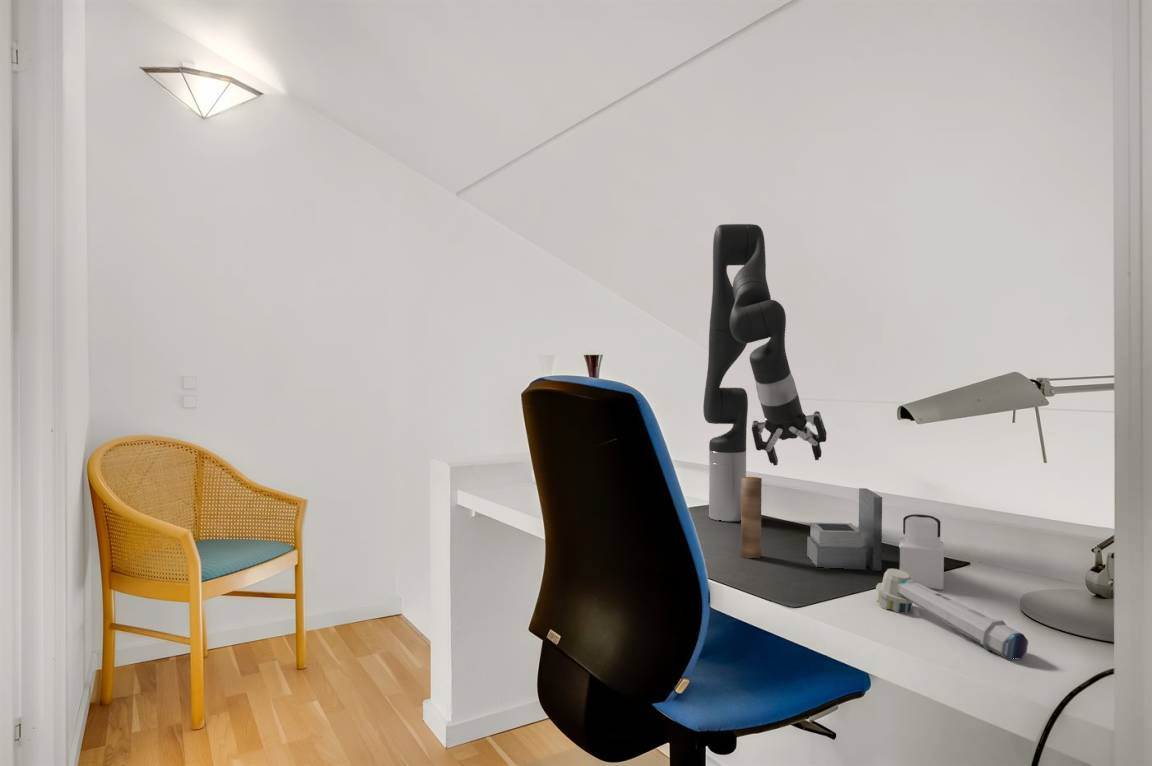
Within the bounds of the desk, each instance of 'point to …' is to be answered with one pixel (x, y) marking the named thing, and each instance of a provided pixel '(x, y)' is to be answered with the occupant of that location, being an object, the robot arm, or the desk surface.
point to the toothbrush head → (950, 614)
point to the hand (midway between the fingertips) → (796, 460)
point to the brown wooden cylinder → (751, 517)
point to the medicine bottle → (922, 551)
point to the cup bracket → (850, 538)
